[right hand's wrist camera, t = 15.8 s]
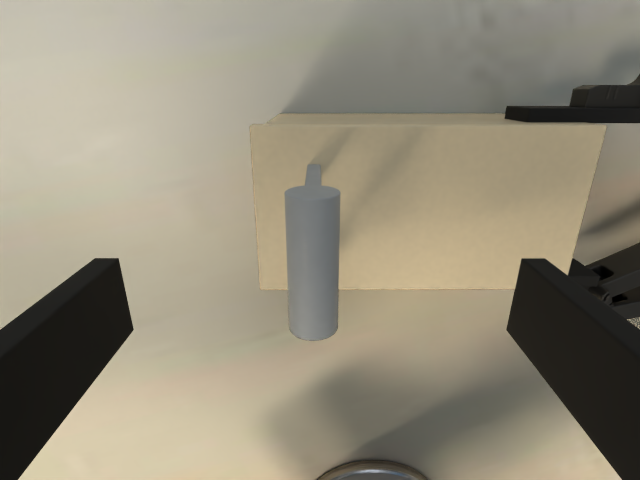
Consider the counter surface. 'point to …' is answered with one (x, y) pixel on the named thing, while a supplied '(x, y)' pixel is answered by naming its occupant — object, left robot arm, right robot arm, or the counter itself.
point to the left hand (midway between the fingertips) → (500, 199)
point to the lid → (413, 207)
